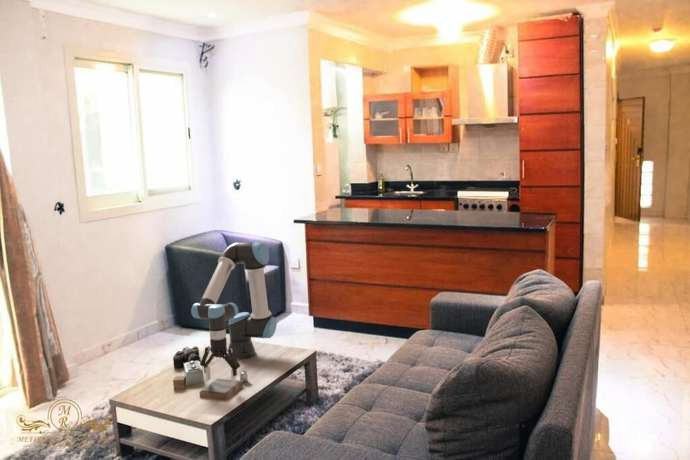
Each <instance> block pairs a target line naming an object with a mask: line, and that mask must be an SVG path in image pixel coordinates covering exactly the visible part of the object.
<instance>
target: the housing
mask: <svg viewBox="0 0 690 460" xmlns="http://www.w3.org/2000/svg"><path fill="white" fill-rule="evenodd" d="M200 363H201V361H190V362H186V363H184V367H183V370H184V371H183V374H184V375H183V376H186V383H187V386H194V385H199V384H203V383H204V368H203V367H202V366H201V365H200Z"/></svg>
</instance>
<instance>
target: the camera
mask: <svg viewBox="0 0 690 460" xmlns="http://www.w3.org/2000/svg"><path fill="white" fill-rule="evenodd" d="M172 357H173V359H172V361H173V369H175V370H178V369H181V368H184V363H186V362H190V361H200V362H201V360H202V358H201V357H200V349H199V347H198V346H197V345H194V346H193V347H192V348H191V347H189V346H186V347H183V349H181V351H180V350H178V351H176V353H175V354H174V355H173V356H172Z"/></svg>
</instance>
